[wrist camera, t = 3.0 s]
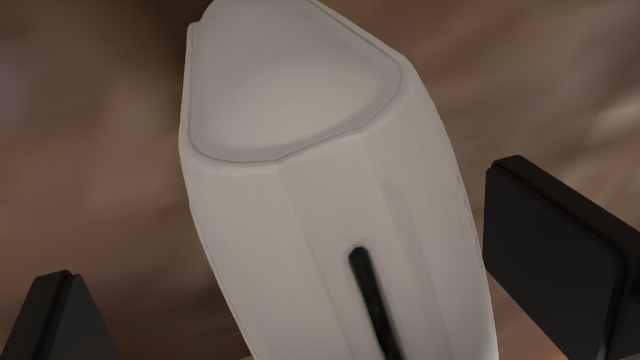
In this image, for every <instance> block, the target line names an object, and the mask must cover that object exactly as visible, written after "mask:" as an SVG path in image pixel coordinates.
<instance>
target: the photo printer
mask: <svg viewBox="0 0 640 360" xmlns="http://www.w3.org/2000/svg"><path fill="white" fill-rule="evenodd" d="M179 154H180V160H181V166H182V172H183V176H184V180H185V184H186V188H187V193H188V197H189V205H190V210H191V214H192V217H193V220H194V224H195V227H196V230H197V233H198V235H199V238H200V241H201V243H202V246H203V248H204V251H205V253H206V256H207V258H208V261H209V263H210V266H211V268H212V270H213V272H214V275H215V277H216V280H217V282H218V285H219V287H220V289H221V291H222V293H223V296H224V298H225V300H226V302H227V304H228V306H229V308H230V311H231V313H232V315H233V317H234V319H235V321H236V323H237V325H238V327H239V329H240V331H241V334H242V336H243V338H244V340H245V342H246V344H247V346H248V348H249V350H250V352H251V354H252V356H253V358H254V360H499V356H498V348H497V339H496V331H495V324H494V318H493V312H492V306H491V299H490V293H489V288H488V283H487V277H486V272H485V267H484V263H483V259H482V254H481V250H480V245H479V241H478V236H477V232H476V228H475V224H474V220H473V216H472V212H471V208H470V205H469V201H468V198H467V194H466V190H465V187H464V184H463V181H462V177H461V174H460V171H459V168H458V164H457V160H456V157H455V155H454V152H453V149H452V146H451V143H450V140H449V138H448V136H447V133H446V131H445V128H444V125H443V123H442V121H441V119H440V117H439V115H438V112H437V110H436V107H435V105H434V103H433V101H432V100H431V98H430V96H429V94H428V92H427V90H426V88H425V86H424V84H423V83H422V81H421V79H420V77H419V75H418V73H417V72H416V70H415V69H414V67H413V65H412V64H411V63H410V62H409V61H408V60H407V59H406V58H405V57H404V56H403V55H402V54H400V53H398V52H397V51H395V50H393V49H392V48H390V47H389V46H387V45H386V44H385V43H383V42H382V41H380V40H379V39H377V38H375V37H374V36H372V35H371V34H369V33H368V32H366V31H364V30H363V29H361V28H360V27H358V26H357V25H355V24H354V23H352V22H351V21H349V20H348V19H346V18H345V17H343V16H341V15H340V14H338V13H336V12H335V11H334V10H332V9H330V8H329V7H327V6H325V5H323V4H322V3H321V2H319V1H317V0H214V1H213V2H212V3H211V4H210V5H209V6H208V8H207V9H206V11H205V12H204V14H203V16H202V18H201V20H200V21H198V22H194V23H191V24H190V25H189V26H188V29H187V45H186V58H185V71H184V83H183V96H182V105H181V119H180V126H179Z"/></svg>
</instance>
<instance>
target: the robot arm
mask: <svg viewBox="0 0 640 360" xmlns="http://www.w3.org/2000/svg"><path fill="white" fill-rule="evenodd" d="M482 259H483V263H484V266H485V267H486V269H487V271H488V272H489V273H490V274H491V275H492V276H493V277H494V278H495V280H496V281H497V282H498V283H499V284H500V285H501V286H502V287H503V288H504V289H505V290H506V292H507V293H508V294H509V295H510V296H511V297H512V298H513V299H514V300H515V301H516V302H517V304H518V305H519V306H520V307H521V308H522V309H523V310H524V311H525V312H526V313H527V314H528V316H529V317H530V318H531V319H532V320H533V321H534V322H535V323H536V324H537V325H538V326H539V328H540V329H541V330H542V331H543V332H544V333H545V334H546V335H547V336H548V337H549V338H550V340H551V341H552V342H553V343H554V344H555V345H556V346H557V347H558V348H559V349H560V350H561V352H562V353H563V354H564V355H565V356H566V357H567V358H568V359H569V360H640V232H639V231H637V230H636V229H634V228H633V227H631V226H630V225H628V224H626V223H625V222H623V221H622V220H620V219H619V218H617V217H616V216H614V215H612V214H611V213H609V212H608V211H606V210H605V209H603V208H602V207H600V206H598V205H597V204H595V203H594V202H592V201H591V200H589V199H588V198H586V197H584V196H583V195H581V194H580V193H578V192H577V191H575V190H574V189H572V188H570V187H569V186H567V185H566V184H564V183H563V182H561V181H560V180H558V179H556V178H555V177H553V176H552V175H550V174H549V173H547V172H546V171H544V170H542V169H541V168H539V167H538V166H536V165H535V164H533V163H532V162H530V161H528V160H527V159H525V158H524V157H522V156H520V155H514V156H510V157H506V158H502V159H498V160H495V161H494V162H493V163H492V165H491V168H489V169H487V171H486V183H485V206H484V229H483V251H482ZM0 360H123V359H122V357H121V355H120V353H119V351H118V349H117V347H116V345H115V343H114V341H113V339H112V337H111V335H110V333H109V331H108V329H107V327H106V325H105V323H104V321H103V319H102V316H101V314H100V312H99V310H98V308H97V306H96V304H95V302H94V300H93V298H92V296H91V294H90V292H89V290H88V288H87V286H86V284H85V282H84V280H83V278H82V277H81V275H80V274H74V275H72V274H71V273H70V272H69V271H68V270H62V271H58V272H54V273H50V274H46V275H43V276H39V277H36V278H35V279H34V281H33V283H32V285H31V288H30V290H29V292H28V294H27V297H26V299H25V301H24V304H23V306H22V308H21V311H20V313H19V315H18V317H17V320H16V322H15V324H14V327H13V329H12V331H11V334H10V336H9V338H8V341H7V343H6V345H5V347H4V350H3V352H2V354H1V355H0Z"/></svg>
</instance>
